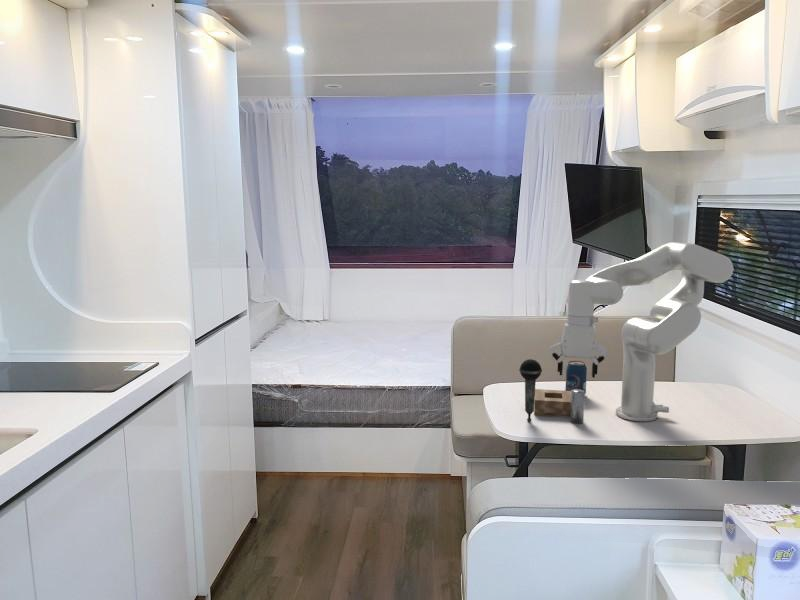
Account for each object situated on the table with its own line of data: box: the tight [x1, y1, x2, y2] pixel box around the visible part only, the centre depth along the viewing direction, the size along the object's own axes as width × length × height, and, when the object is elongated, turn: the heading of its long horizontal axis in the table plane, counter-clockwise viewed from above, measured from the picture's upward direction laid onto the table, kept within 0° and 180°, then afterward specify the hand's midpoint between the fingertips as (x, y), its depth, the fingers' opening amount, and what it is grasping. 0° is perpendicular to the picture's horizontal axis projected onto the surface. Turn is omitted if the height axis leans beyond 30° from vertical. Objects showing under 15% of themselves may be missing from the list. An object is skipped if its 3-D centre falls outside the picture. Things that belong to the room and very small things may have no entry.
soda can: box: [564, 360, 588, 396], centre depth 223 cm, size 7×7×12 cm
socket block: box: [533, 388, 571, 418], centre depth 209 cm, size 12×12×5 cm
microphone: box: [518, 358, 543, 423], centre depth 197 cm, size 7×7×20 cm
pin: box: [569, 389, 586, 425], centre depth 197 cm, size 4×4×10 cm
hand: (576, 375), depth 195 cm, fingers open, 9 cm apart
